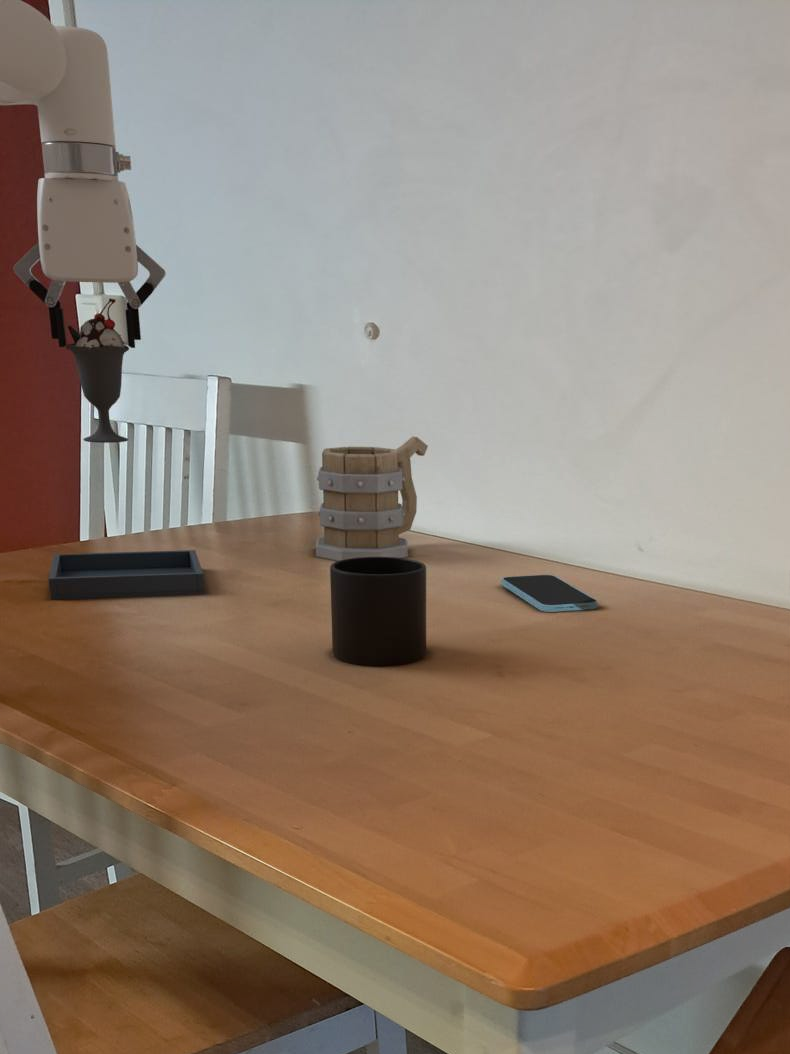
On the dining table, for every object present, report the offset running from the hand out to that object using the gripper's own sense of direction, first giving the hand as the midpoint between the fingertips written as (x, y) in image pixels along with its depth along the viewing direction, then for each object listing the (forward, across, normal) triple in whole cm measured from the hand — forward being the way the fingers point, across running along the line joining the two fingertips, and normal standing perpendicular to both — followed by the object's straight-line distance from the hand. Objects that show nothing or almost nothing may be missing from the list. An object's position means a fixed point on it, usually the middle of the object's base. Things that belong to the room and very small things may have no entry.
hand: (97, 345), depth 142 cm
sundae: (+10, 0, 0) cm, 10 cm away
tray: (+28, -1, -5) cm, 28 cm away
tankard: (+28, -36, -22) cm, 50 cm away
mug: (+28, -25, +33) cm, 50 cm away
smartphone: (+28, -50, +12) cm, 58 cm away
